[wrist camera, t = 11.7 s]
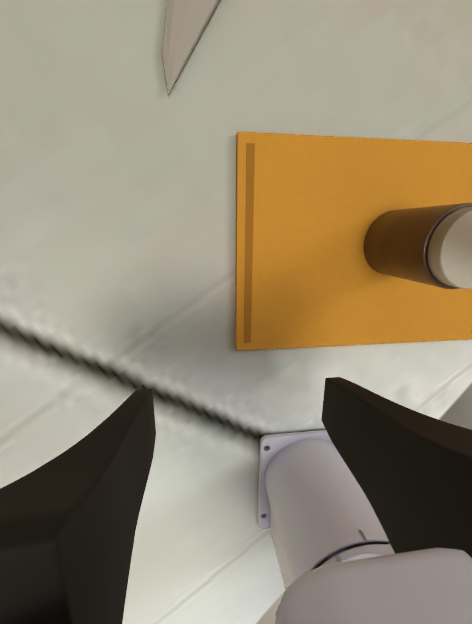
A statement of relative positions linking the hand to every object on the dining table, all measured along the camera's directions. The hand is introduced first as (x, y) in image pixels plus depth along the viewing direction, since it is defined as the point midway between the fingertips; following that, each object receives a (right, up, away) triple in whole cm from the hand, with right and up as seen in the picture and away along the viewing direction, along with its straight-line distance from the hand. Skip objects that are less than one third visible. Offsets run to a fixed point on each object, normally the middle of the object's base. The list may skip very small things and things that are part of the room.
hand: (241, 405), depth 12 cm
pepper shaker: (+11, +9, +8) cm, 16 cm away
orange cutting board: (+10, +8, +9) cm, 15 cm away
